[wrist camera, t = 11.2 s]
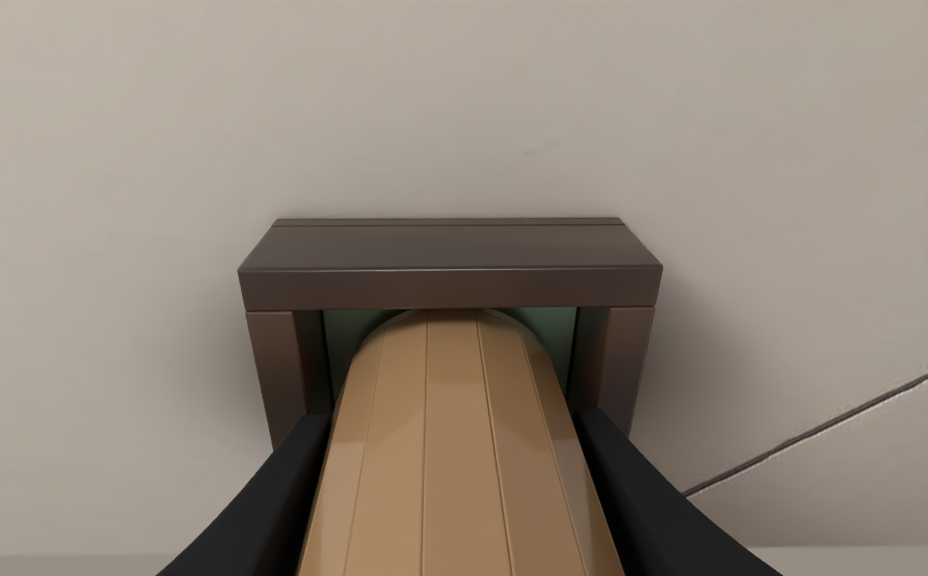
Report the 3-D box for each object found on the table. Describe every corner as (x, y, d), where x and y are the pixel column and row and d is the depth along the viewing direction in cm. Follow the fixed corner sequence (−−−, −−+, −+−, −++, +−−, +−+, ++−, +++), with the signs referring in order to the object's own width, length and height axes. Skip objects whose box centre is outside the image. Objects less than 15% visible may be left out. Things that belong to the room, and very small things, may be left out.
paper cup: (547, 470, 15) (625, 782, 9) (352, 475, 15) (293, 801, 9) (566, 300, 13) (695, 571, 6) (332, 303, 12) (228, 589, 6)
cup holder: (581, 466, 18) (607, 546, 15) (316, 474, 17) (293, 557, 14) (620, 217, 14) (665, 265, 11) (275, 218, 13) (235, 269, 10)
